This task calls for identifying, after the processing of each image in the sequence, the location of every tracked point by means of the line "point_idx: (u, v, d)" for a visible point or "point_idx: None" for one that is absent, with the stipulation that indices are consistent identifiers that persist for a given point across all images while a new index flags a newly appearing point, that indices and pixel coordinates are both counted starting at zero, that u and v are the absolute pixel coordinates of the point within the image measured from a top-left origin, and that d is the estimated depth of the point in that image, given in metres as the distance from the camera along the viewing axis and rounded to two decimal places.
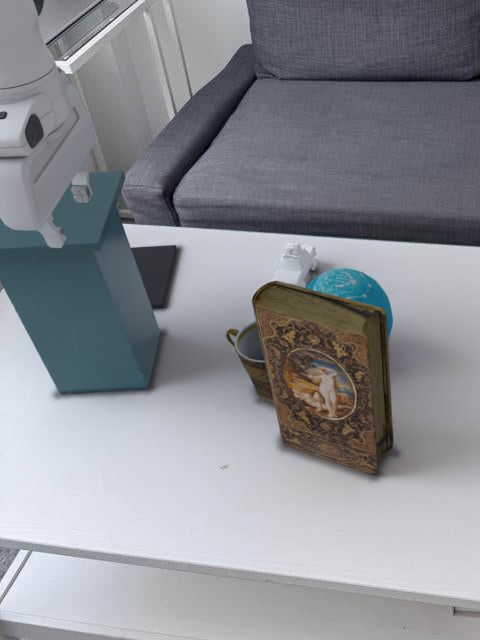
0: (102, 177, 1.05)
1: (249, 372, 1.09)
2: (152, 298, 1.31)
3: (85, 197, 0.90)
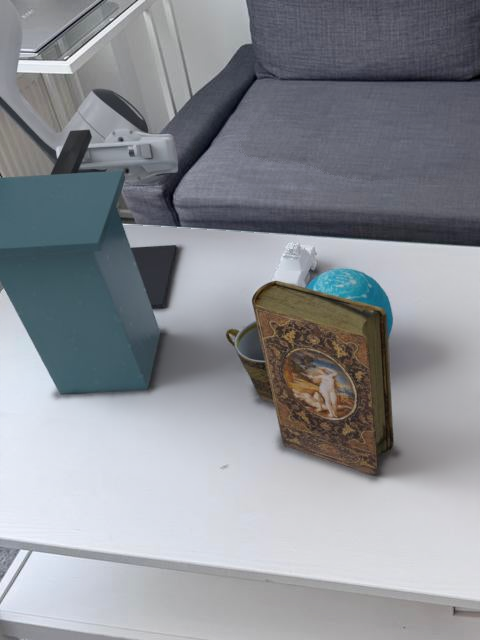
0: (102, 177, 1.05)
1: (249, 372, 1.09)
2: (152, 298, 1.31)
3: None
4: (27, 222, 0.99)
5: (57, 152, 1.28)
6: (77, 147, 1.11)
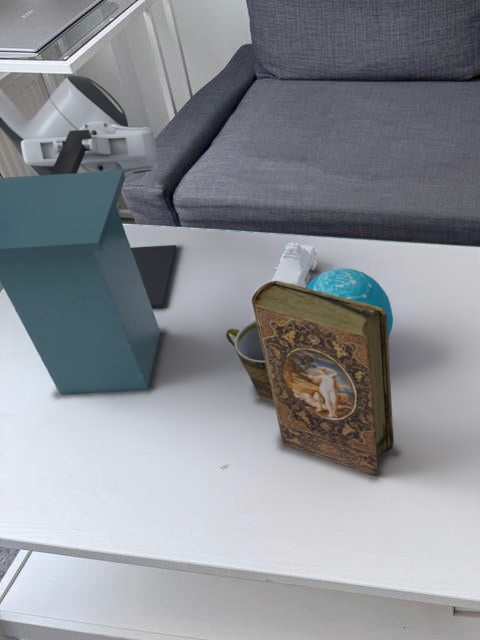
0: (101, 177, 1.05)
1: (249, 372, 1.09)
2: (152, 298, 1.31)
3: None
4: (27, 222, 0.99)
5: (22, 146, 1.16)
6: (76, 147, 1.11)
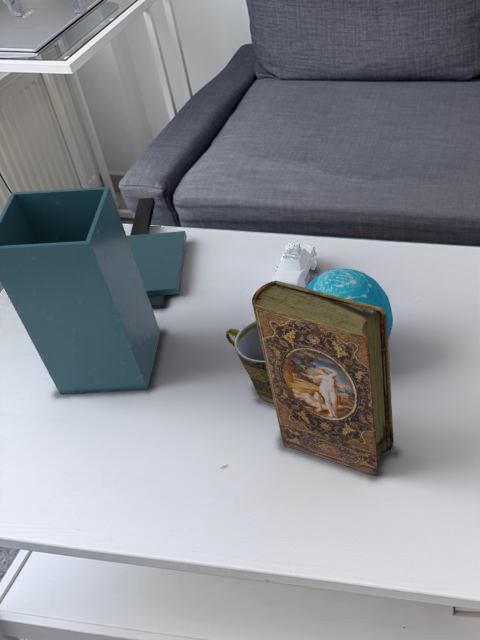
0: (170, 237, 1.40)
1: (249, 372, 1.09)
2: (152, 298, 1.31)
3: (22, 8, 1.11)
4: None
5: None
6: (146, 212, 1.46)
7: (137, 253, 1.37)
